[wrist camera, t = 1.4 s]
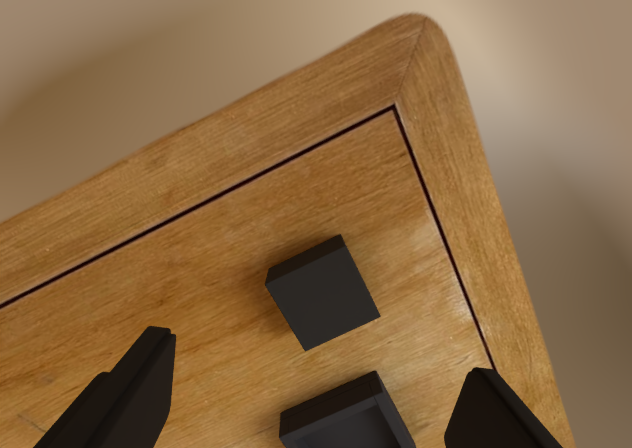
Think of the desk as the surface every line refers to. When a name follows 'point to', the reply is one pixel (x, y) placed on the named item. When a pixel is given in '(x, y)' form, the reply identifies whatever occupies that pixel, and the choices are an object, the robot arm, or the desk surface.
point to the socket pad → (347, 419)
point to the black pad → (321, 293)
